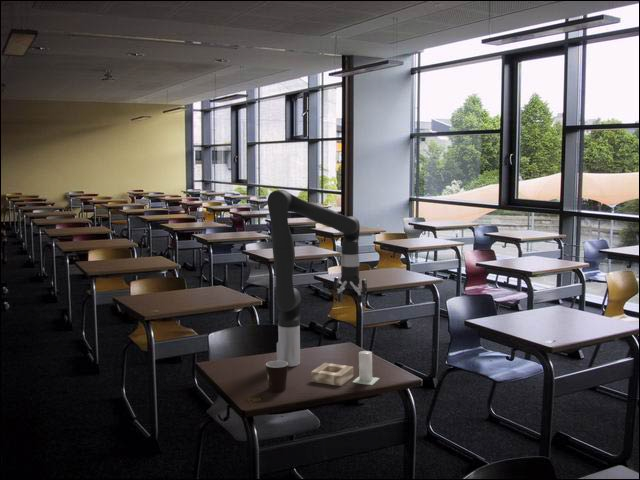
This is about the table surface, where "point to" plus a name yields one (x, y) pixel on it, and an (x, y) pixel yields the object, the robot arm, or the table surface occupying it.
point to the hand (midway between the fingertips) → (350, 302)
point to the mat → (366, 382)
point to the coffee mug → (277, 375)
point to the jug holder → (332, 374)
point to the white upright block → (365, 366)
